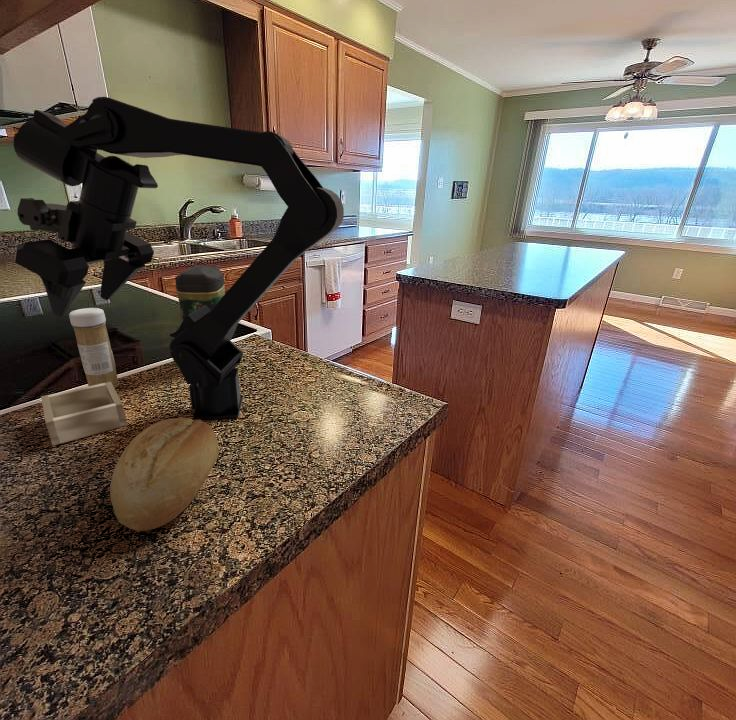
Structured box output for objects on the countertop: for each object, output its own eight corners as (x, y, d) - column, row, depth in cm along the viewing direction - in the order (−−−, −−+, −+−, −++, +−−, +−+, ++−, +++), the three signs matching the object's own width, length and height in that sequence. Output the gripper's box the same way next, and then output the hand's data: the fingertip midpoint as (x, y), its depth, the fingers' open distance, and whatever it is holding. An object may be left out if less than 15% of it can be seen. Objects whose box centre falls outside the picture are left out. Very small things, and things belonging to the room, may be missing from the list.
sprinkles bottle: (122, 380, 70) (106, 306, 64) (117, 392, 66) (99, 314, 61) (91, 383, 68) (73, 307, 63) (84, 395, 64) (64, 315, 59)
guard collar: (115, 401, 63) (110, 381, 62) (127, 425, 57) (122, 403, 56) (47, 417, 58) (40, 396, 56) (52, 445, 52) (45, 422, 50)
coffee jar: (195, 351, 84) (184, 262, 76) (234, 351, 85) (227, 263, 77) (181, 370, 75) (167, 271, 68) (224, 370, 76) (215, 272, 69)
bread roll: (235, 450, 53) (230, 398, 50) (193, 540, 39) (183, 476, 36) (161, 448, 53) (152, 395, 49) (94, 540, 39) (74, 474, 36)
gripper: (97, 176, 59) (77, 268, 65) (-26, 168, 42) (-39, 294, 48) (167, 213, 61) (141, 300, 66) (75, 220, 43) (51, 337, 49)
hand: (82, 306), depth 57 cm, fingers open, 9 cm apart
